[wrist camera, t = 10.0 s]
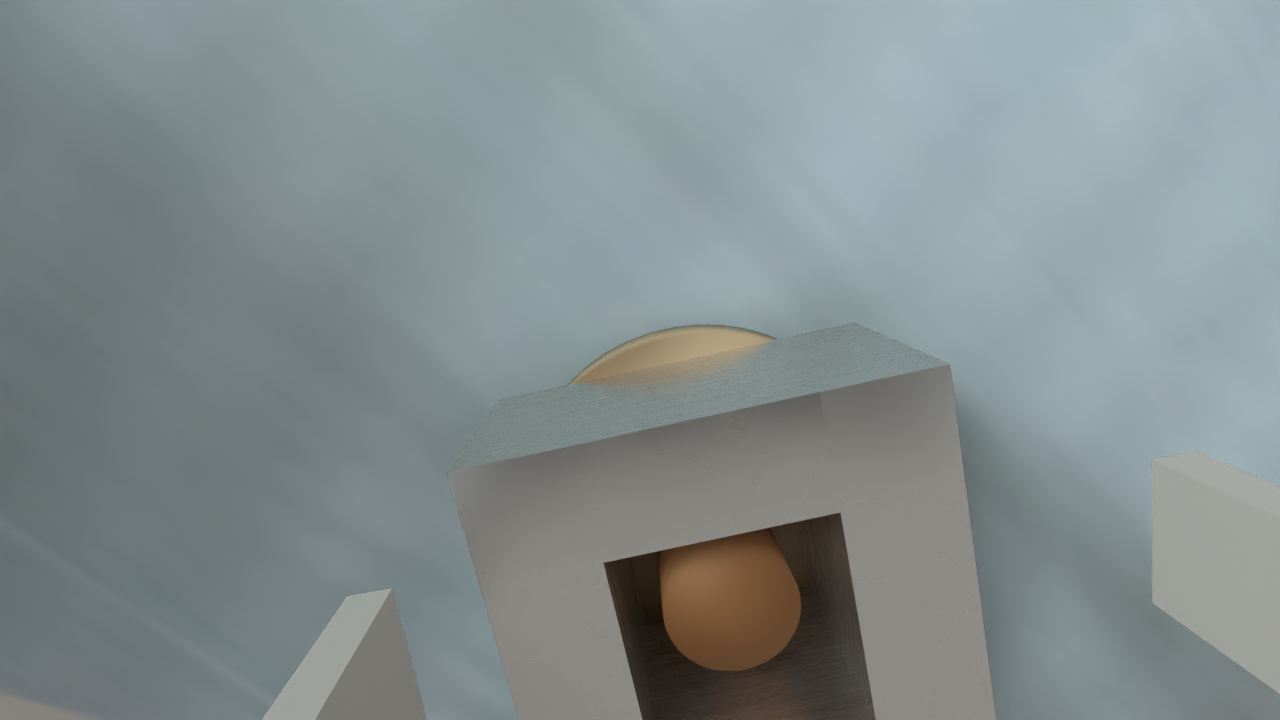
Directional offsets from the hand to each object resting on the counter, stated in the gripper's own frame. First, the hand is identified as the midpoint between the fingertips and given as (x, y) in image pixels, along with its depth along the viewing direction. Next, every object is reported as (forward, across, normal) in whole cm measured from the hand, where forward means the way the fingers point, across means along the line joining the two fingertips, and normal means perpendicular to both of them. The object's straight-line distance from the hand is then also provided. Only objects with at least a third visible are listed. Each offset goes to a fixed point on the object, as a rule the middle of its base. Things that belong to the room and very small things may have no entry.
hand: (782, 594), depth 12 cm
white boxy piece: (+6, -1, -2) cm, 6 cm away
